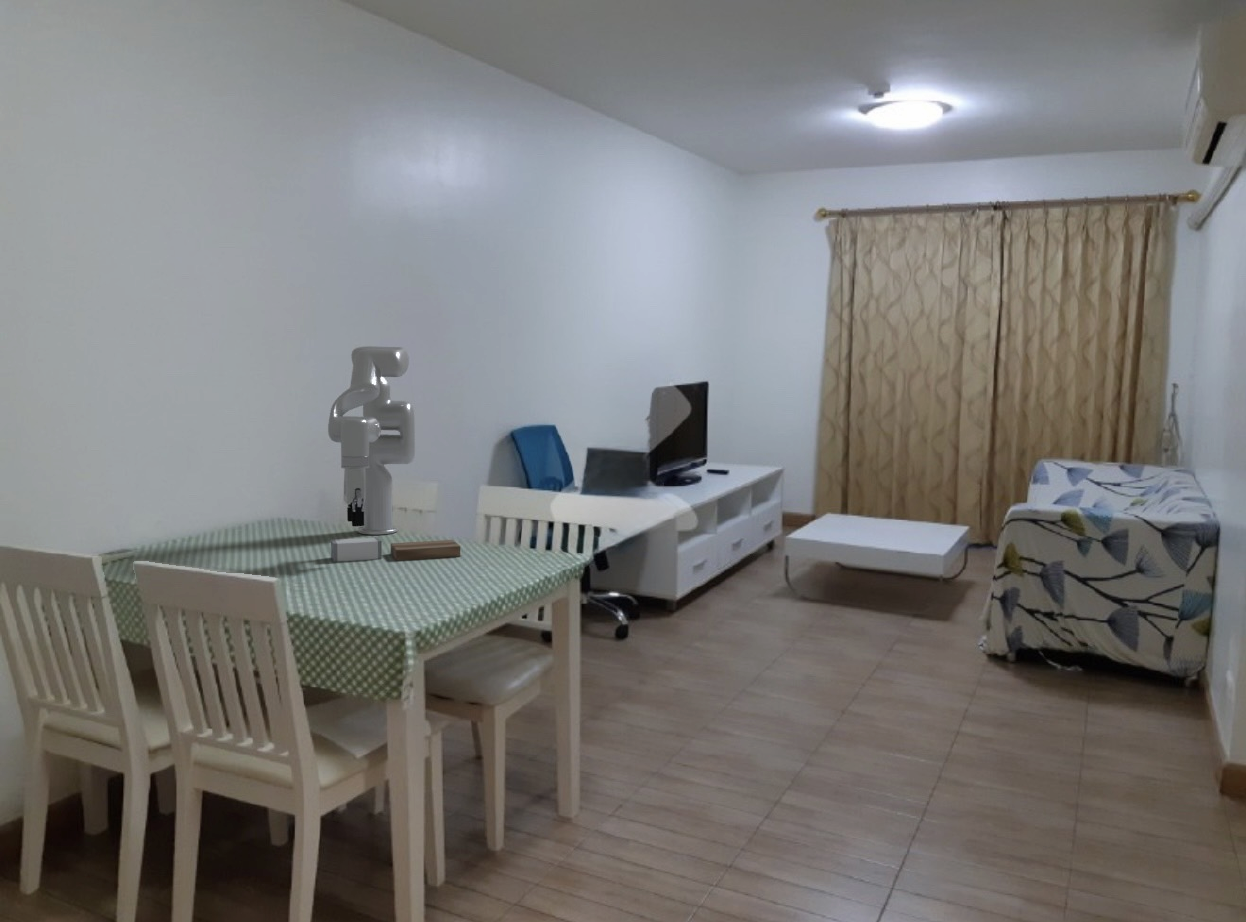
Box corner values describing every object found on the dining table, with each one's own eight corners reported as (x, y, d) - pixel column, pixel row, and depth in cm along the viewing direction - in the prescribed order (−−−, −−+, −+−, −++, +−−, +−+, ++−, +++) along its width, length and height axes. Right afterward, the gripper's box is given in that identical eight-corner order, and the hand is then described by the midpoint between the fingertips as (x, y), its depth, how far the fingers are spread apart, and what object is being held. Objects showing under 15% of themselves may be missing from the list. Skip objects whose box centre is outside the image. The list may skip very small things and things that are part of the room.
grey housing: (331, 557, 271) (330, 539, 270) (378, 554, 276) (378, 537, 275) (333, 561, 265) (333, 543, 265) (381, 558, 270) (381, 541, 270)
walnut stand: (390, 553, 277) (390, 543, 277) (452, 549, 284) (452, 539, 284) (396, 560, 268) (396, 550, 268) (460, 556, 275) (460, 546, 275)
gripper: (337, 460, 274) (338, 519, 275) (345, 465, 258) (345, 528, 259) (364, 459, 277) (364, 518, 278) (373, 465, 261) (374, 527, 262)
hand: (355, 523), depth 269 cm, fingers open, 9 cm apart
